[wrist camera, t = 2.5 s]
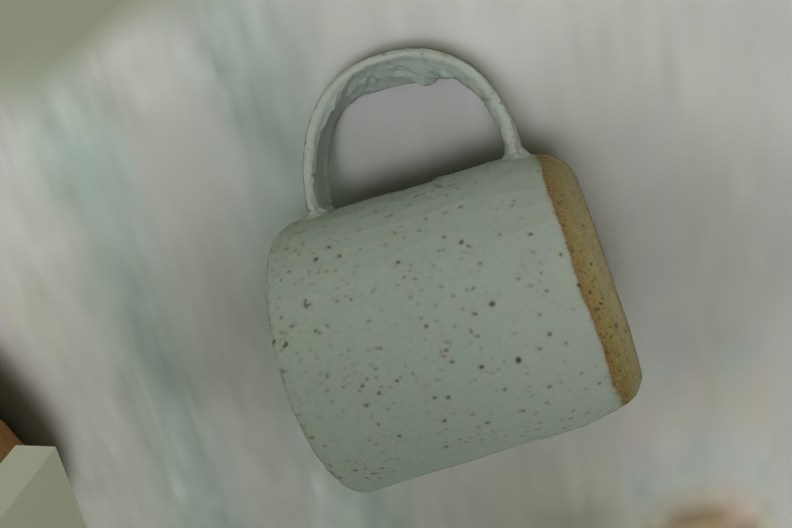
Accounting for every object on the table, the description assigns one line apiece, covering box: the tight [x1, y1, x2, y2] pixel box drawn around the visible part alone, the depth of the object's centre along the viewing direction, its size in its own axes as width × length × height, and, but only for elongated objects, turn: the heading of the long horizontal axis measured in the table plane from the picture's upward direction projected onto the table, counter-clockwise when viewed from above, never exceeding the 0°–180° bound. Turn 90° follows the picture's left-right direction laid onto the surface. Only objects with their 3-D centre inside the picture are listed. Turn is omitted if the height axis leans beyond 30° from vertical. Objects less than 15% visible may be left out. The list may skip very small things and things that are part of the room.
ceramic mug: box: [266, 48, 642, 492], centre depth 18 cm, size 11×8×8 cm
